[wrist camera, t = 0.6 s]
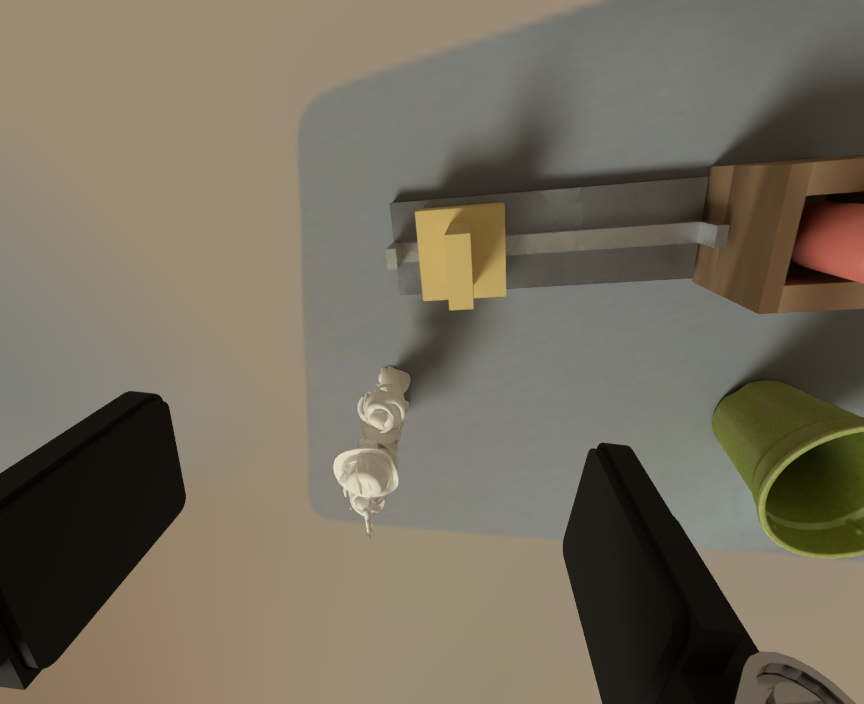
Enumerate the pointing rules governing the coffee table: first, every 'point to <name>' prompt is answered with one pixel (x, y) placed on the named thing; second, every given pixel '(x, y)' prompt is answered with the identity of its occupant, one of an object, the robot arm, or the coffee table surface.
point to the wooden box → (775, 233)
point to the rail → (581, 233)
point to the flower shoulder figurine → (375, 446)
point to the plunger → (831, 239)
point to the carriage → (462, 253)
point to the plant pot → (798, 466)
